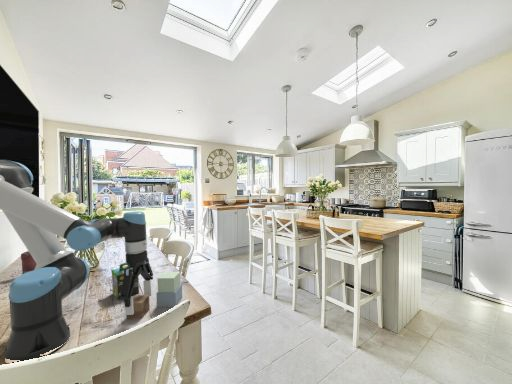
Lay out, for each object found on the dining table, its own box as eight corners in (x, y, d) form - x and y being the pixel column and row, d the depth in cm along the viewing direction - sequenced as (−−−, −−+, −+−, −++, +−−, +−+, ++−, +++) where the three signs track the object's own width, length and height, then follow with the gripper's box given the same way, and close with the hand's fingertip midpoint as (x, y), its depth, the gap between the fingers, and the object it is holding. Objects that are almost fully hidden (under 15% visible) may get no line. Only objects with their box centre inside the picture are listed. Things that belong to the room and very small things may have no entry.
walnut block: (142, 318, 87) (141, 303, 87) (126, 318, 87) (125, 303, 87) (149, 309, 93) (149, 295, 93) (135, 309, 93) (134, 295, 93)
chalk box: (133, 287, 113) (132, 257, 113) (139, 293, 107) (138, 262, 106) (111, 293, 107) (110, 262, 106) (117, 300, 100) (116, 267, 100)
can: (20, 277, 127) (18, 253, 127) (35, 273, 133) (33, 250, 132) (24, 279, 124) (23, 254, 124) (39, 275, 130) (38, 251, 129)
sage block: (174, 292, 95) (174, 278, 95) (157, 292, 95) (157, 278, 95) (180, 284, 102) (180, 271, 102) (164, 285, 102) (164, 271, 102)
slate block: (175, 307, 95) (175, 292, 94) (156, 307, 95) (156, 293, 94) (182, 297, 103) (181, 284, 102) (164, 297, 103) (164, 284, 102)
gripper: (127, 262, 76) (131, 323, 77) (159, 242, 101) (162, 289, 102) (105, 262, 76) (109, 324, 77) (143, 243, 101) (145, 289, 102)
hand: (139, 304), depth 90 cm, fingers open, 13 cm apart
